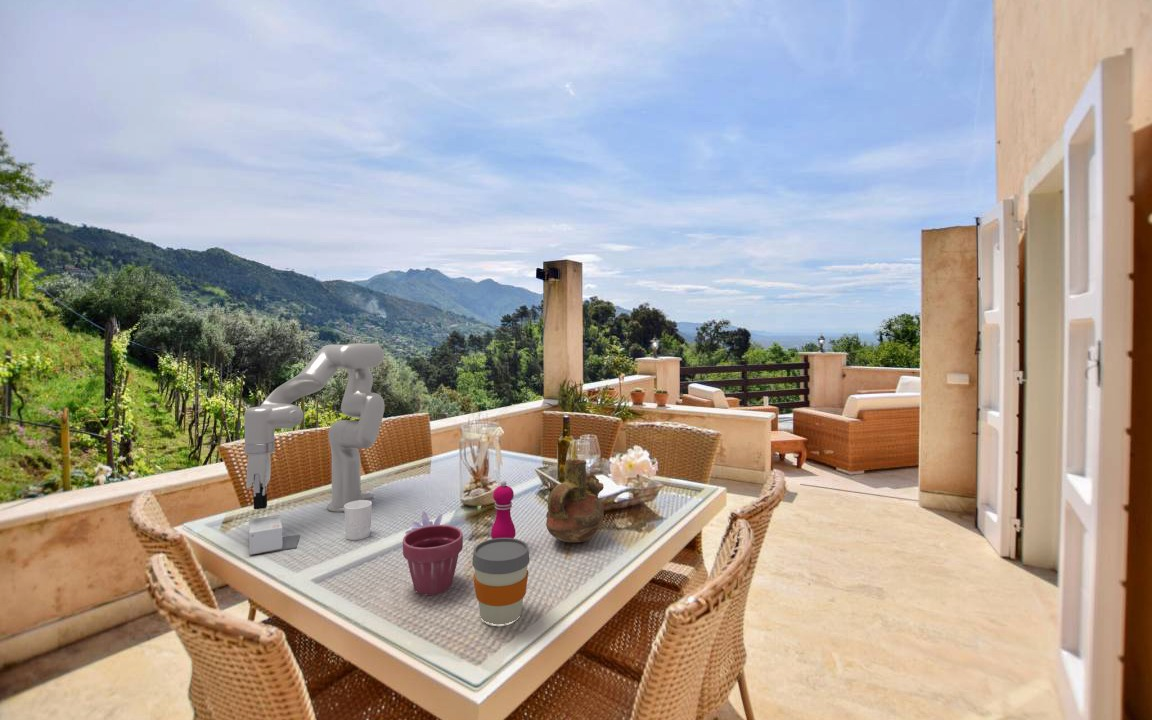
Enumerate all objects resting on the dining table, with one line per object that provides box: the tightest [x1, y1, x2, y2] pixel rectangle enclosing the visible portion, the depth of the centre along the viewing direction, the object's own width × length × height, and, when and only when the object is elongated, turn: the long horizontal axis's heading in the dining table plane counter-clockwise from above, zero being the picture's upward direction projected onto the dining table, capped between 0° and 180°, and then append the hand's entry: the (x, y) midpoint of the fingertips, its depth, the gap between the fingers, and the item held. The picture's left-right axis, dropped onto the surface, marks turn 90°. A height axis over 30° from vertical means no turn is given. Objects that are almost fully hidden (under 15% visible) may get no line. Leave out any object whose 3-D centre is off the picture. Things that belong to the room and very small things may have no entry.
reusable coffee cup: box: [472, 538, 531, 624], centre depth 107 cm, size 13×13×15 cm
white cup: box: [344, 500, 373, 541], centre depth 150 cm, size 8×8×10 cm
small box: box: [248, 514, 284, 556], centre depth 143 cm, size 8×6×13 cm
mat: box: [252, 534, 301, 555], centre depth 143 cm, size 11×10×1 cm
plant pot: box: [402, 524, 464, 596], centre depth 120 cm, size 14×14×13 cm
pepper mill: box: [490, 480, 517, 539], centre depth 142 cm, size 7×7×20 cm
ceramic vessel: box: [545, 458, 605, 543], centre depth 150 cm, size 17×26×25 cm, turn 145°
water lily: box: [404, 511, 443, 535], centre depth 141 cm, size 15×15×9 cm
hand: (260, 507), depth 147 cm, fingers closed
